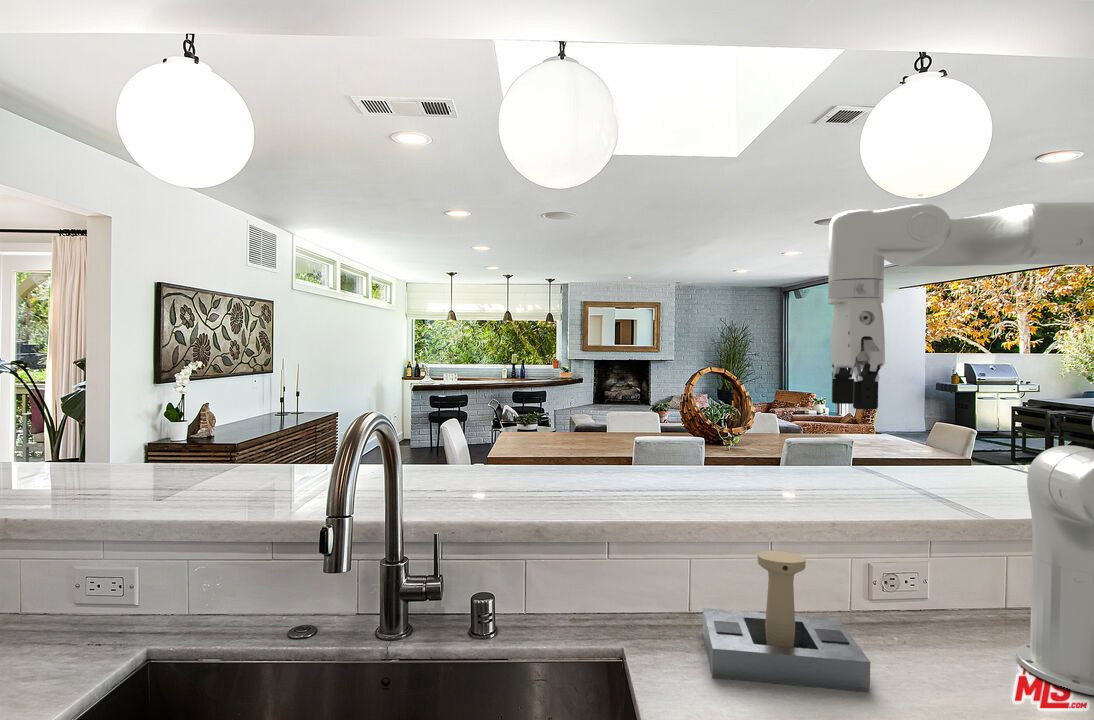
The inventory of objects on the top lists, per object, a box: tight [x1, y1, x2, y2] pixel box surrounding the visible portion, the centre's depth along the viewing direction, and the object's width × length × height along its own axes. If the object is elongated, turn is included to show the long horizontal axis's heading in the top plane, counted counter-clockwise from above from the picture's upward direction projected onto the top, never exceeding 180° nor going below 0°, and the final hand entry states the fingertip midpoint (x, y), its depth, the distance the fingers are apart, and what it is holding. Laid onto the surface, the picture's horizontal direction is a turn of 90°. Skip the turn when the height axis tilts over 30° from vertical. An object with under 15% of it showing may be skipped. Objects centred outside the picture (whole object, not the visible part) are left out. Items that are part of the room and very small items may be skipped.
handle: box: [757, 550, 807, 647], centre depth 86 cm, size 5×6×15 cm
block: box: [702, 607, 871, 693], centre depth 86 cm, size 20×13×4 cm, turn 81°
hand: (853, 406), depth 91 cm, fingers open, 9 cm apart
